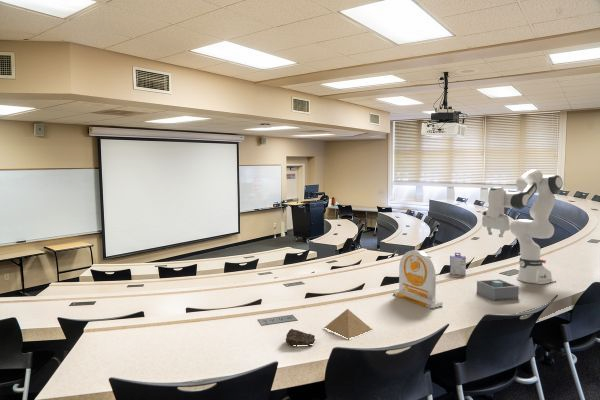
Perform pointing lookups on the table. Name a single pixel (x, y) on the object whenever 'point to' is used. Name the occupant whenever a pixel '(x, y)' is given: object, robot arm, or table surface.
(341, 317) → the model pyramid
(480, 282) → the walled box
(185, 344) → the table surface
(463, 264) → the ink cartridge box
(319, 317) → the table surface
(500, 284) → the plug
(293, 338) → the dark brown rock
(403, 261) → the award
